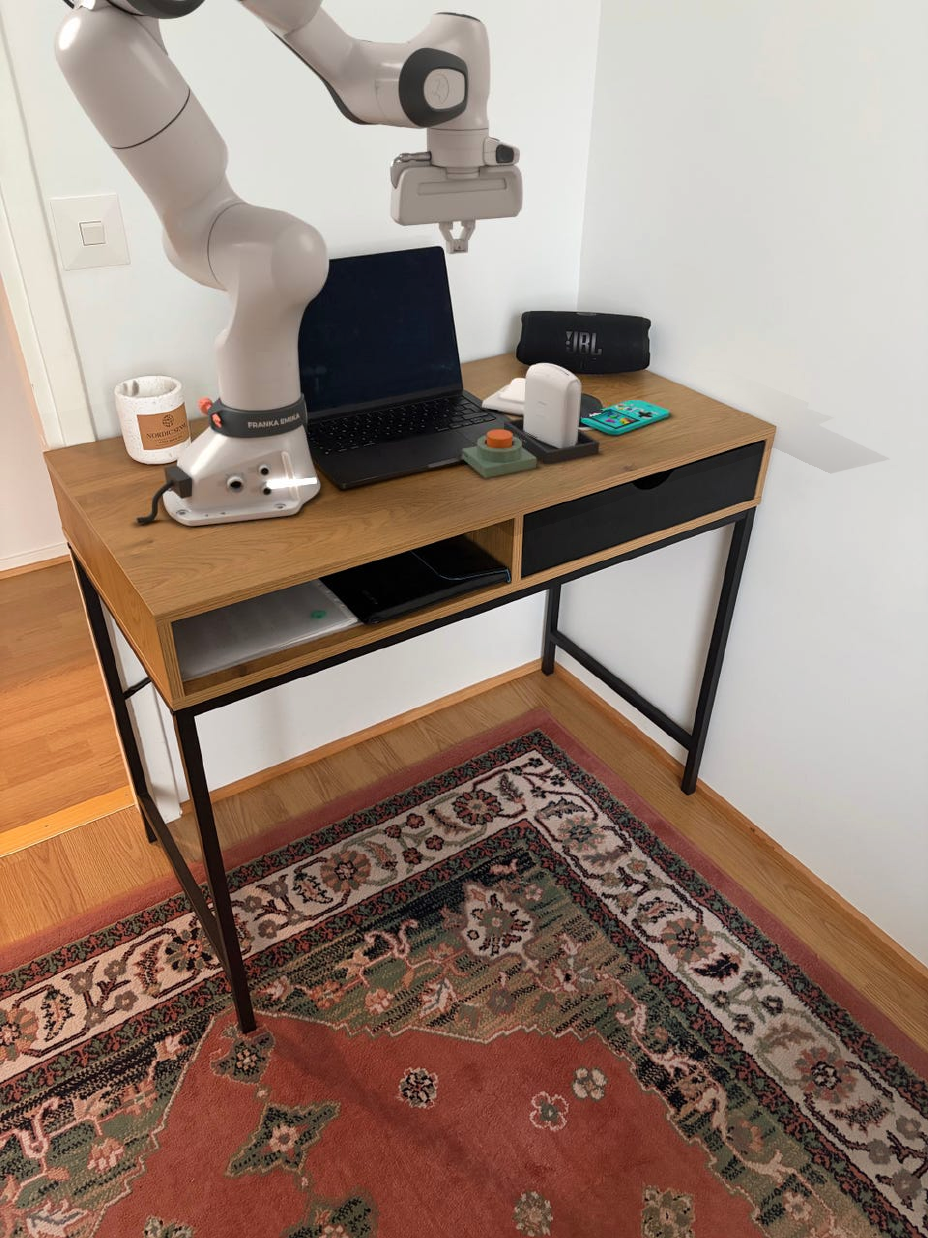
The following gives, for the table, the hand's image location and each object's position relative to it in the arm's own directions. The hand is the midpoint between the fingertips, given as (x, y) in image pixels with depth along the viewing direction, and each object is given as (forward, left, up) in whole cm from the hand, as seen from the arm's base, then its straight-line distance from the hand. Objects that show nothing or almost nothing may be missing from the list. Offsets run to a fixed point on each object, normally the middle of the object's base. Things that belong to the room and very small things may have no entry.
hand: (456, 252), depth 136 cm
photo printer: (+12, -10, -29) cm, 33 cm away
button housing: (+1, -14, -29) cm, 32 cm away
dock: (+12, -10, -29) cm, 33 cm away
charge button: (+1, -14, -26) cm, 29 cm away
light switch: (+17, +7, -29) cm, 35 cm away
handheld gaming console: (+30, -7, -29) cm, 42 cm away
